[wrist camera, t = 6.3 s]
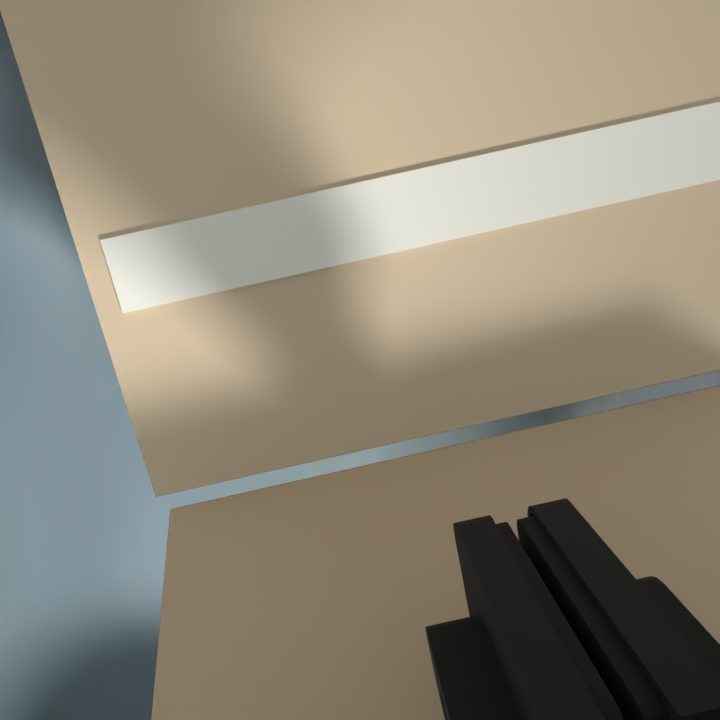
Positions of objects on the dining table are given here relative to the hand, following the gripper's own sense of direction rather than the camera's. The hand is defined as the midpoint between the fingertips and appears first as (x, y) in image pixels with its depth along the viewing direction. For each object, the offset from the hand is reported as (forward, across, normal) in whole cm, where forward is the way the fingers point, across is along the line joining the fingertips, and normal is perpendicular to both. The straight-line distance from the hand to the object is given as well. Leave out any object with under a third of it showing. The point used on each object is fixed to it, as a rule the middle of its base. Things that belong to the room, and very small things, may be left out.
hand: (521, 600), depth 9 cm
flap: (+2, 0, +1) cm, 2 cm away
